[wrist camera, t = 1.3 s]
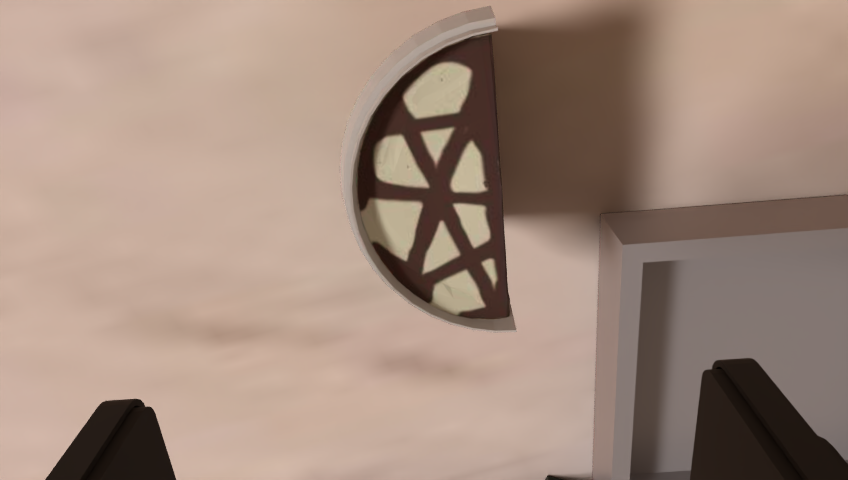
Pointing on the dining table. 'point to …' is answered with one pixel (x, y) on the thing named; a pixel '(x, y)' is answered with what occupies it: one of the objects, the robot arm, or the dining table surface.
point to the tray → (716, 322)
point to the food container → (433, 174)
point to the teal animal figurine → (551, 478)
